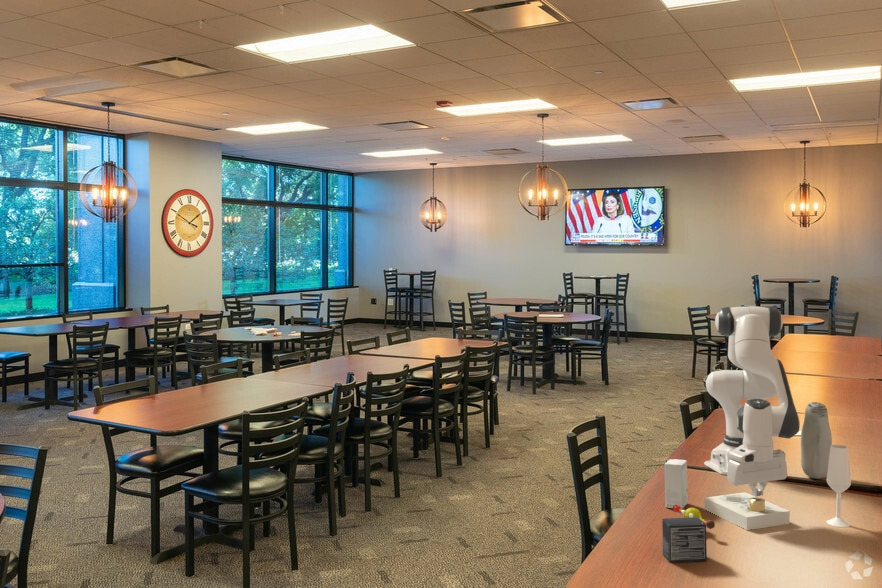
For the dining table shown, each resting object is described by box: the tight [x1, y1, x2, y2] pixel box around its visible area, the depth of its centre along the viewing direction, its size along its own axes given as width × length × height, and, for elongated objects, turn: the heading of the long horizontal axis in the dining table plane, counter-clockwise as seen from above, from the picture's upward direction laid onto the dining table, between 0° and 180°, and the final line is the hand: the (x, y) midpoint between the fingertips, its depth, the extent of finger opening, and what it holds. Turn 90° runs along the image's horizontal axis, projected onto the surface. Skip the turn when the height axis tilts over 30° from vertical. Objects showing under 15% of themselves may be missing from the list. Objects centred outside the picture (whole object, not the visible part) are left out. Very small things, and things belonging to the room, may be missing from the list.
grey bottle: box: [800, 401, 833, 480], centre depth 283 cm, size 10×10×28 cm
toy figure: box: [672, 505, 716, 530], centre depth 233 cm, size 18×6×7 cm, turn 21°
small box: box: [661, 517, 708, 564], centre depth 212 cm, size 11×6×10 cm, turn 92°
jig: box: [704, 492, 791, 531], centre depth 244 cm, size 20×16×4 cm
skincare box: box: [664, 458, 689, 510], centre depth 255 cm, size 8×6×15 cm
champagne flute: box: [825, 444, 852, 528], centre depth 236 cm, size 7×7×24 cm
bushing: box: [750, 496, 766, 512], centre depth 239 cm, size 4×4×7 cm
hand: (757, 495), depth 240 cm, fingers closed
